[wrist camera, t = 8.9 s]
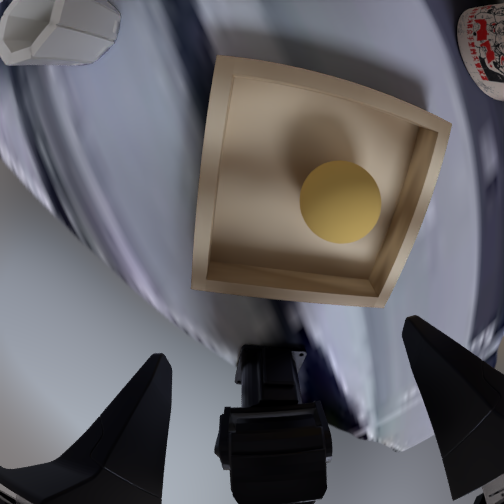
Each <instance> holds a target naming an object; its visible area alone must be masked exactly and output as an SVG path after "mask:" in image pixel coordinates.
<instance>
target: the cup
mask: <svg viewBox="0 0 504 504" xmlns="http://www.w3.org/2000/svg"><path fill="white" fill-rule="evenodd" d="M3 14H4V16H2V17H1V21H0V57H1V58H2V60H3V61H4V63H5V65H8V66H10V65H60V66H76V65H78V66H79V65H86V64H91V63H93V62H96V61H97V60H98V59H99V58H100V57H101V56H102V55H103V54H104V53H106V51H107V50H108V49H109V48H110V47H111V46H112V45H113V44H114V43H115V42H114V41H115V40H116V39H117V34H118V31H119V27H120V20H121V16H120V15H121V14H120V13H119V12H118V11H117V9H116V8H115V7H114V6H113V5H112V4H110V3H109V2H108V1H107V0H13V1H12V2H11V4H10V5H9V6H8V8H7V9H6V10H5V12H4V13H3Z"/></svg>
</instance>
